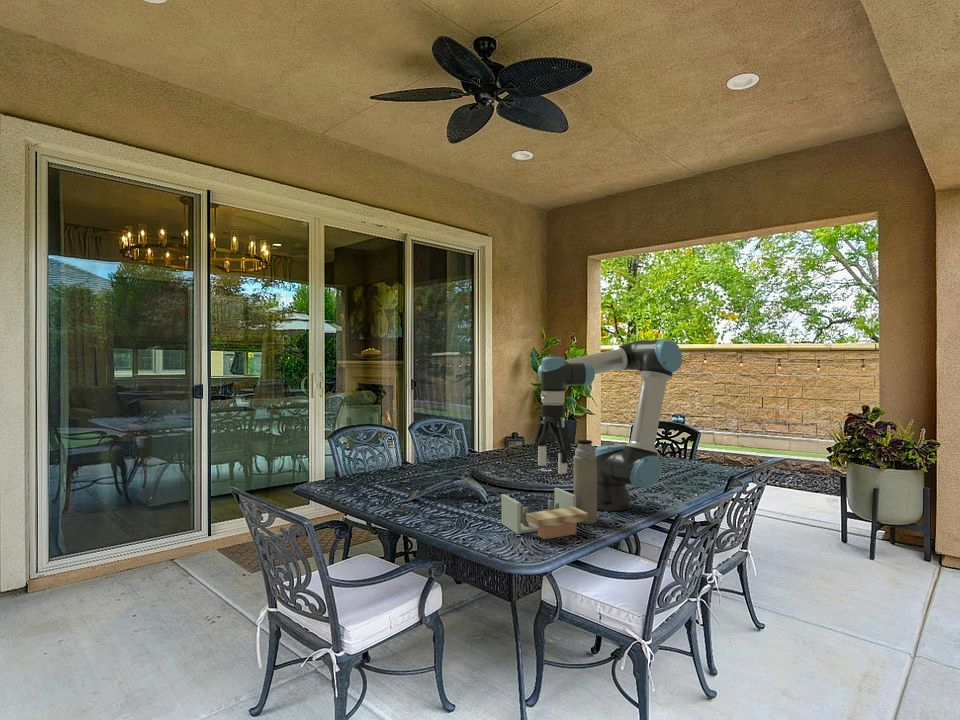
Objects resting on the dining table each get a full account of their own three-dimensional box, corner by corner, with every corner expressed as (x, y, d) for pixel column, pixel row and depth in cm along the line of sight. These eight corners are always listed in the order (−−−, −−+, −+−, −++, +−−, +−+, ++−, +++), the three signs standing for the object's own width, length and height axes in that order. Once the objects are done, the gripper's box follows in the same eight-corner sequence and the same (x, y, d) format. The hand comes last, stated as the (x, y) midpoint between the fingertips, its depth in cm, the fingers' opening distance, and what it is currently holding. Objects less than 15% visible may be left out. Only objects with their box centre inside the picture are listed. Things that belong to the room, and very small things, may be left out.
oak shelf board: (573, 514, 182) (573, 506, 182) (587, 520, 175) (587, 512, 175) (526, 521, 175) (526, 513, 175) (538, 528, 168) (538, 520, 167)
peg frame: (557, 515, 196) (557, 487, 196) (576, 524, 185) (575, 495, 185) (501, 523, 187) (501, 494, 187) (517, 534, 176) (517, 503, 176)
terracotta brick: (569, 530, 179) (569, 516, 179) (576, 534, 175) (576, 520, 175) (537, 535, 174) (537, 521, 174) (543, 539, 171) (543, 525, 171)
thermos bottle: (571, 517, 194) (571, 438, 193) (593, 516, 194) (593, 438, 194) (576, 524, 186) (575, 442, 185) (599, 523, 186) (598, 442, 186)
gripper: (525, 401, 187) (524, 463, 187) (561, 407, 164) (561, 477, 164) (544, 401, 190) (544, 461, 190) (583, 406, 167) (582, 476, 166)
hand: (552, 469), depth 177 cm, fingers open, 13 cm apart
